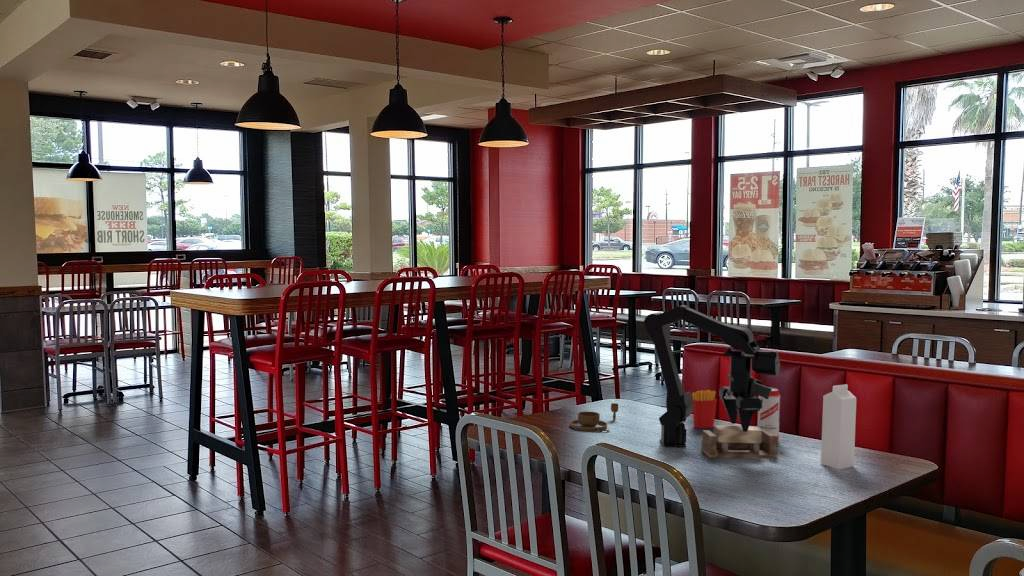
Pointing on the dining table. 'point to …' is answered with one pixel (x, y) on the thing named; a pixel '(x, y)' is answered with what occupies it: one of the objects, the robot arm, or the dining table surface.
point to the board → (738, 434)
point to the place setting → (592, 420)
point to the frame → (739, 447)
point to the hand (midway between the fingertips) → (739, 427)
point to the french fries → (704, 408)
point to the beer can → (770, 413)
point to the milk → (838, 428)
